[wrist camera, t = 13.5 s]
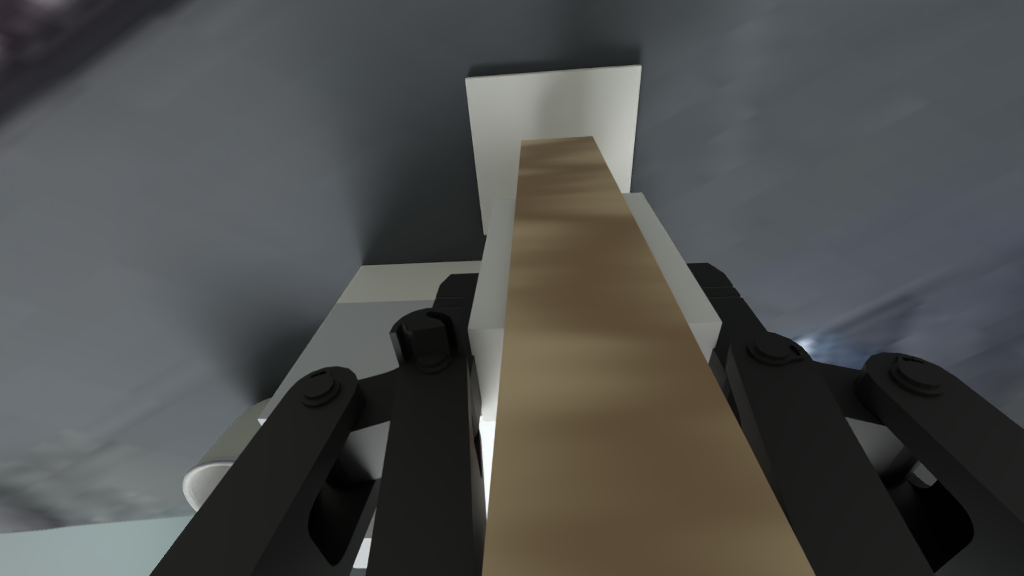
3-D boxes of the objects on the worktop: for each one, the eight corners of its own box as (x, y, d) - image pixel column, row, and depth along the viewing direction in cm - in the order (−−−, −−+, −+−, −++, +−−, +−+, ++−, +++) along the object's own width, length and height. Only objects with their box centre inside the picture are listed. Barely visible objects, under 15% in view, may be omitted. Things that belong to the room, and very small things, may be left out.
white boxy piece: (406, 404, 32) (353, 567, 23) (361, 265, 25) (257, 418, 16) (607, 401, 31) (642, 571, 22) (621, 254, 24) (681, 412, 14)
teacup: (316, 469, 38) (271, 564, 32) (219, 401, 33) (141, 498, 27) (432, 424, 34) (409, 524, 27) (340, 339, 29) (283, 435, 22)
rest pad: (484, 230, 24) (483, 235, 23) (466, 77, 19) (465, 79, 19) (624, 223, 23) (625, 228, 22) (638, 64, 19) (641, 65, 18)
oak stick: (525, 206, 20) (503, 757, 5) (521, 140, 18) (471, 687, 3) (589, 203, 20) (765, 770, 5) (592, 136, 18) (881, 703, 3)
